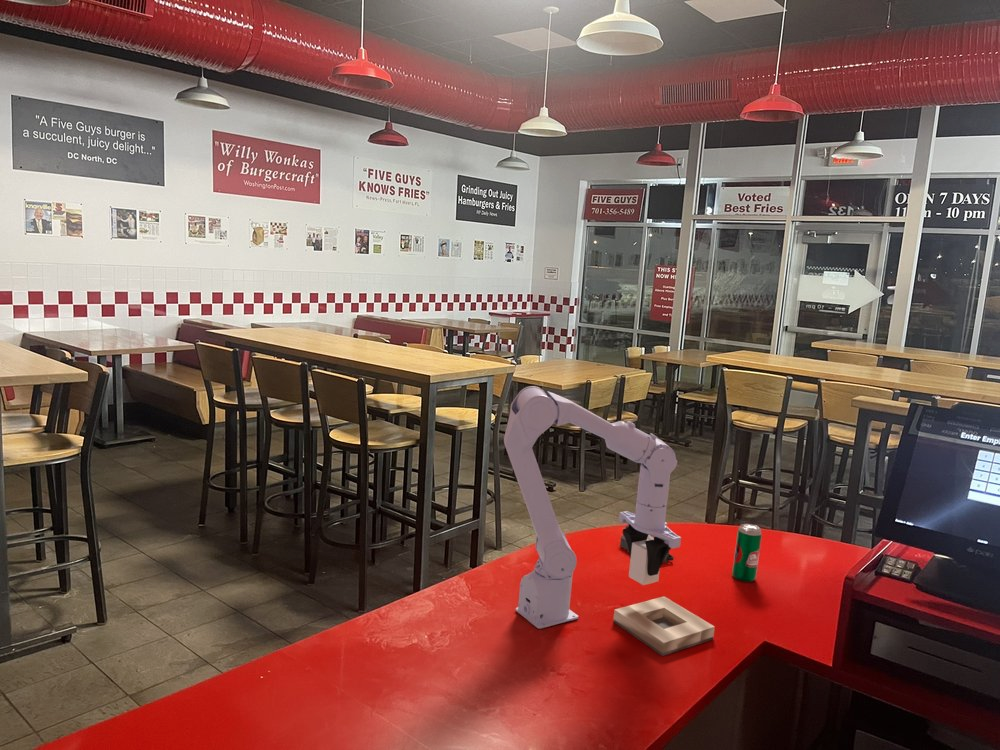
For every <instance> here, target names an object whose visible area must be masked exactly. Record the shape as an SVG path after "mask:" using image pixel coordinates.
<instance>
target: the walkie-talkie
mask: <svg viewBox="0 0 1000 750" xmlns="http://www.w3.org/2000/svg"><path fill="white" fill-rule="evenodd" d="M627 527H628V525H625V528H624V529H626V528H627ZM647 539H648V540H654V537H652V536H650V535H648V537H647ZM620 546H621V547H620ZM619 547H620V548H622V547H623V548H624V550H625V549H626V550H627V551H626V550H625V551H626V552H628V551H629V549H628V545H627V542H626V539H625V537H624V535H623V534H622V535H621V537H620V542H619ZM623 548H622V549H623ZM669 561H670V562H671V561H674V556H673V554H672V555H671V554H670V551H669V552H668V553H667V555H666V556H665V558H664V560H663V562H662V563H668V562H669Z"/></svg>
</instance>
